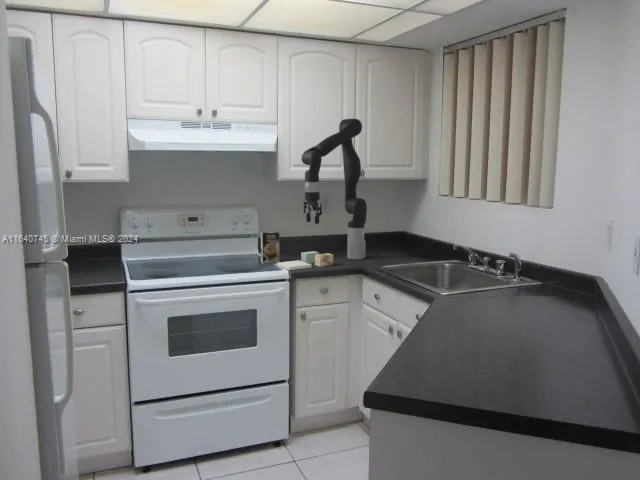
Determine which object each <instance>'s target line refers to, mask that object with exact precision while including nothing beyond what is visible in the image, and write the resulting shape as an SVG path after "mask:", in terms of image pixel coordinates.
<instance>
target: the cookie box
mask: <svg viewBox="0 0 640 480" xmlns="http://www.w3.org/2000/svg"><path fill="white" fill-rule="evenodd" d="M260 262H261V264H263V265H265V264H266V265H267V264H277V263H279V262H280V232H279V231H260Z"/></svg>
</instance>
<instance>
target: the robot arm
mask: <svg viewBox="0 0 640 480" xmlns="http://www.w3.org/2000/svg"><path fill="white" fill-rule="evenodd" d="M338 126H339V127H338V131H339V132H336V133H334V134H332V135H329V136H328V137H326V138H325V139H323V140H321V141H320V142H318V144H316V145H314V146H312V147H310V148H308V149H307V150H305V151H304V152H303V153H302V154H301V158H300V159H301V161H302V163H303V164H304V165H307V166H309V169H306V170H305V172H304V200H305V201H303V214H305V215H306V216H305V217H306V218H305V219H306V221H305V222H306V223H310V222H311V221H312V219H311V217H312V216H311V215H312V213H313V215H314V224H316V225H319V224H320V216H322V215H323V213H322V212H323V210H322V203H321V202H318V201H320V199H321V197H320V196H321V195H320V189H321V188H320V175H319V174H320V169H321V165H322V160H323V159H322V157H326V156H327V155H329V154H330V153H331V152H333V151H334V150H335V149H337V148H338V147H340V146H341V151H342V162H343V174H344V175H343V176H344V208H345V211H346V213H347V214H349V215H352V218H351V220H350V221H348V222H347V240H346V241H347V244H346V245H347V246H346V247H347V249H346V250H347V251H346V252H347V253H346V255H347V256H346V258H347V259H348V260H349V259H350V260H363V259H365V258H366V246H367V244H366V240H365V226H366V225H365V224H366V222H367V210H368V205H367V201H366V200H365V199H364V198H361V197H360V198H359V197H357V185H358V183H359V181H360V178H361V175H362V165H361V159H360V157H359V155H358V153H357V152H356V151H357V150H355V148H354V147H355V146H354V144H353V138H355V137H358V136H359V135H360V134H361V132H362V130H363V124H362V122H361V120H360V119H358V118H344V119H342V120H341V121H340V122H339V125H338Z"/></svg>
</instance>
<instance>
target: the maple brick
mask: <svg viewBox="0 0 640 480" xmlns="http://www.w3.org/2000/svg"><path fill="white" fill-rule="evenodd" d="M333 265H334V254H332V253H319V254H316V255H315V263H314V266H318V267H326V266H328V267H329V266H333Z"/></svg>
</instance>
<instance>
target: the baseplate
mask: <svg viewBox="0 0 640 480" xmlns="http://www.w3.org/2000/svg"><path fill="white" fill-rule="evenodd" d="M312 265H313V264H308V263H305V262H302V261H301V260H300V259H297V260H291V261H282V262H281V261H279V263H276V266H277V267H279V268H282V269H284V270H287V271H294V270H301V269H302V270H303V269H311V268H312Z"/></svg>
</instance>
